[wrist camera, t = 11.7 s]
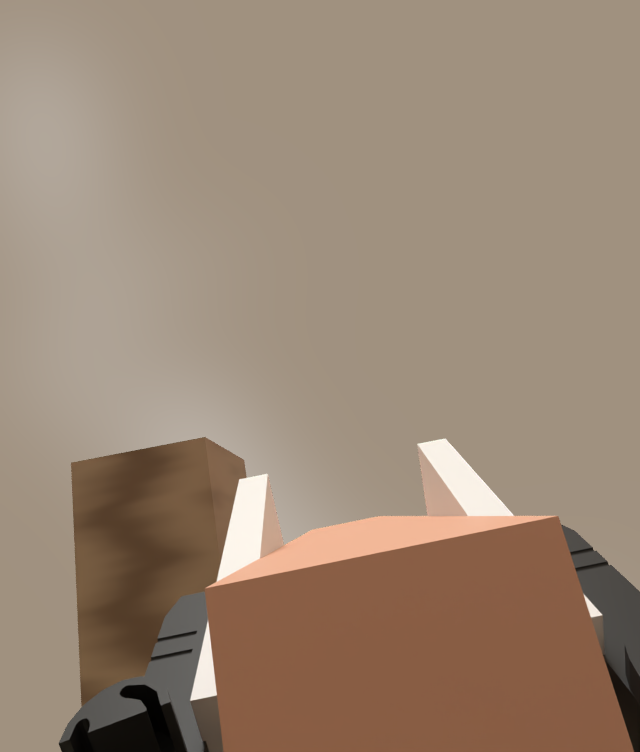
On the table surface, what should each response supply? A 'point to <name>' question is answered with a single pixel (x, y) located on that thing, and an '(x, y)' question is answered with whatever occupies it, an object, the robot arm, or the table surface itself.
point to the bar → (413, 642)
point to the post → (144, 547)
